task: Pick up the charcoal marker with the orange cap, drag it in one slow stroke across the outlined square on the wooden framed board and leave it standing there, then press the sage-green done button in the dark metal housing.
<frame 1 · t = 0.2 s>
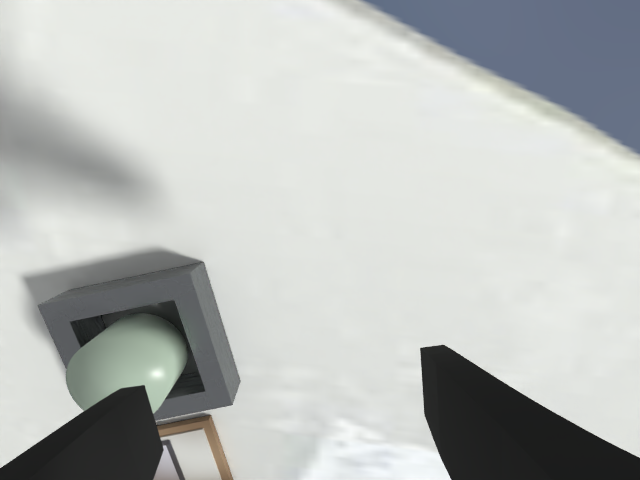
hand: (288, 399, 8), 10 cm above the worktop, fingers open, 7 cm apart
button housing: (158, 337, 18), on the worktop
done button: (132, 365, 16), point 3 cm above the worktop, slide at 0.0 cm
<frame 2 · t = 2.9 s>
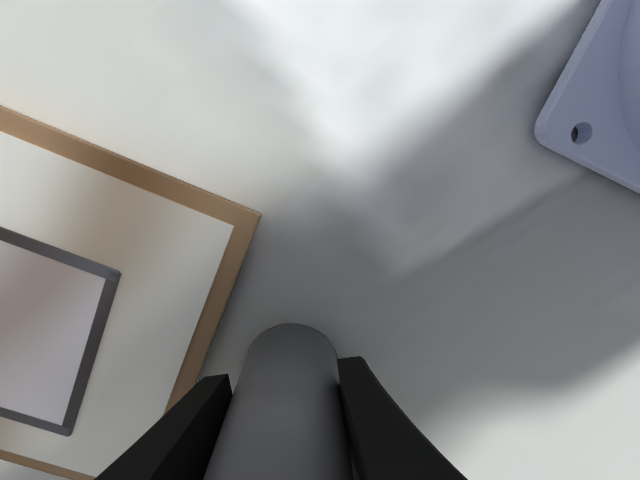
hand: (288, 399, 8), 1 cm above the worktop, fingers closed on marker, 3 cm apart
wooden framed board: (50, 312, 9), on the worktop
marker: (291, 365, 9), on the worktop, touching gripper
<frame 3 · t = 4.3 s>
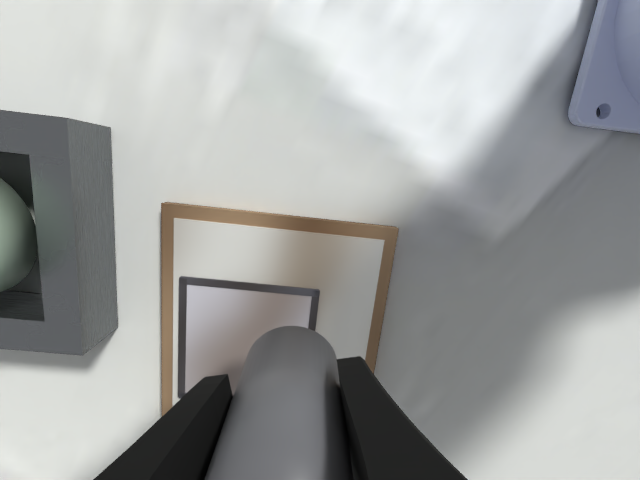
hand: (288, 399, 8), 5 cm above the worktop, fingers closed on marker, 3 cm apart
wooden framed board: (273, 330, 13), on the worktop
button housing: (7, 223, 12), on the worktop
marker: (291, 367, 9), point 4 cm above the worktop, touching gripper
when the fingers open (2 cm above the worktop, at t = 5.9 s): marker stays where it is, resting on wooden framed board.
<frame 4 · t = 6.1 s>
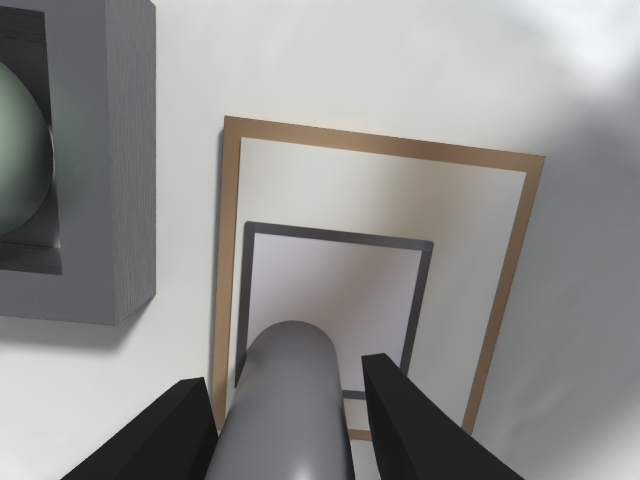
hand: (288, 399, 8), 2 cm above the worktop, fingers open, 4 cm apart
wooden framed board: (361, 299, 10), on the worktop
button housing: (9, 147, 8), on the worktop
marker: (292, 361, 10), point 1 cm above the worktop, touching wooden framed board
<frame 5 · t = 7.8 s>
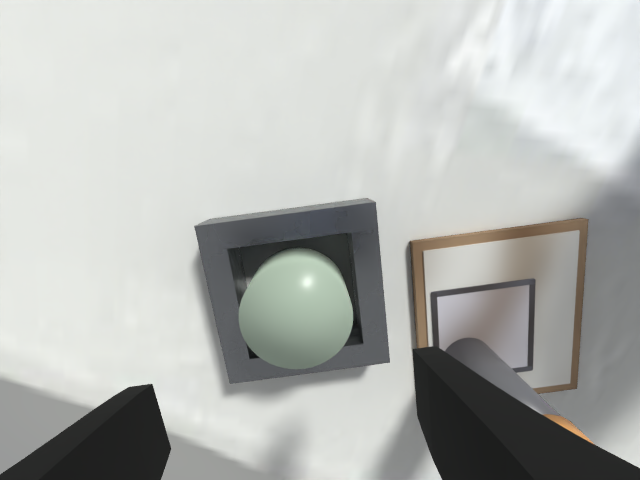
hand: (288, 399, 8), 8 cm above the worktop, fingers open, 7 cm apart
wooden framed board: (495, 317, 17), on the worktop
button housing: (299, 283, 16), on the worktop
marker: (466, 360, 17), point 1 cm above the worktop, touching wooden framed board
done button: (297, 304, 13), point 3 cm above the worktop, slide at 0.0 cm
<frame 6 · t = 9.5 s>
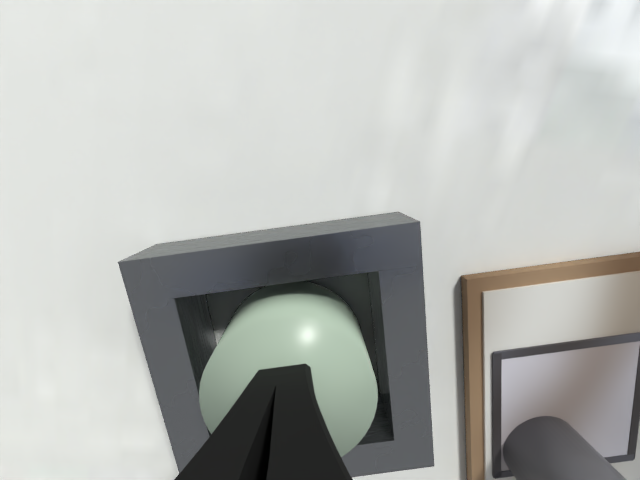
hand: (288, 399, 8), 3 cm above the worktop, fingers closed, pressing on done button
wooden framed board: (581, 383, 12), on the worktop
button housing: (295, 337, 11), on the worktop
marker: (539, 447, 11), point 1 cm above the worktop, touching wooden framed board
done button: (292, 368, 9), point 2 cm above the worktop, slide at 1.0 cm, touching gripper
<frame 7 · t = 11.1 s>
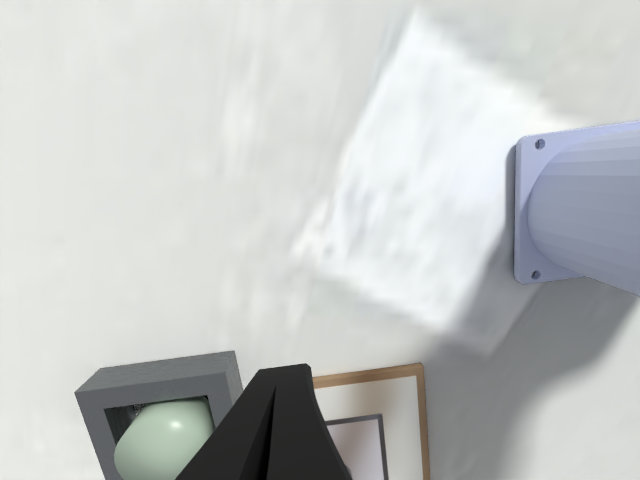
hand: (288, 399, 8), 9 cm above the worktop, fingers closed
wooden framed board: (356, 440, 19), on the worktop
button housing: (182, 416, 19), on the worktop
done button: (170, 439, 17), point 2 cm above the worktop, slide at 1.0 cm
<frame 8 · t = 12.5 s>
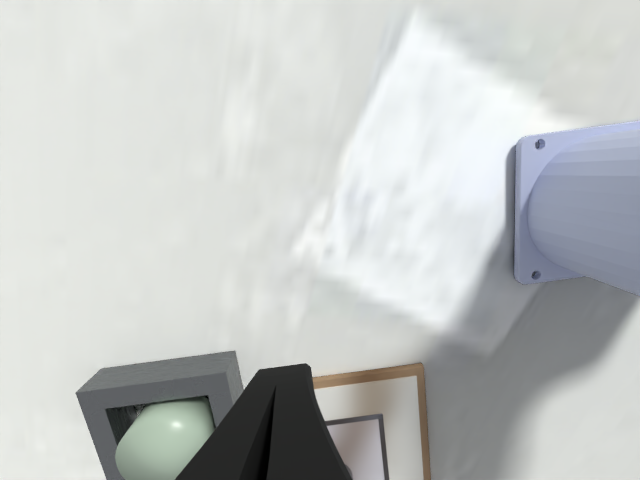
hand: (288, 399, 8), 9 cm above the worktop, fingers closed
wooden framed board: (356, 440, 20), on the worktop
button housing: (183, 416, 19), on the worktop
done button: (171, 439, 17), point 2 cm above the worktop, slide at 1.0 cm
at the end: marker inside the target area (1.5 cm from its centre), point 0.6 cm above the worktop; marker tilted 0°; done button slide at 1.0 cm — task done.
